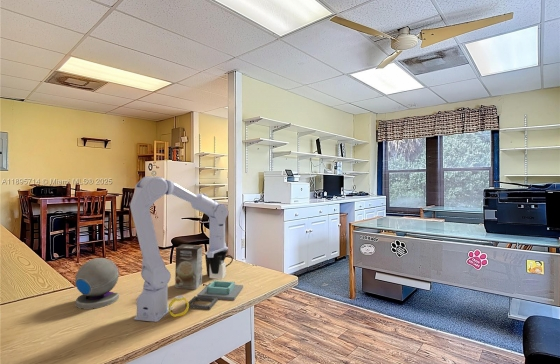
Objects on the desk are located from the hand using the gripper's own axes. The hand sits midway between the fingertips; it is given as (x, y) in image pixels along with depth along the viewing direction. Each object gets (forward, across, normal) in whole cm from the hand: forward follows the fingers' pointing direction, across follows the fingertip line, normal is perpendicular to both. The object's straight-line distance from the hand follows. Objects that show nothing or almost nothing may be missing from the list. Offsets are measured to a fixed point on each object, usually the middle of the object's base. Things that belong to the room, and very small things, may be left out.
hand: (217, 271), depth 110 cm
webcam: (+9, -12, +39) cm, 42 cm away
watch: (+9, -17, +6) cm, 20 cm away
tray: (+9, -8, +2) cm, 12 cm away
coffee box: (+9, +7, +14) cm, 18 cm away
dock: (+9, +3, -1) cm, 9 cm away
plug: (+2, 0, 0) cm, 2 cm away
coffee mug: (+9, +21, +7) cm, 24 cm away
